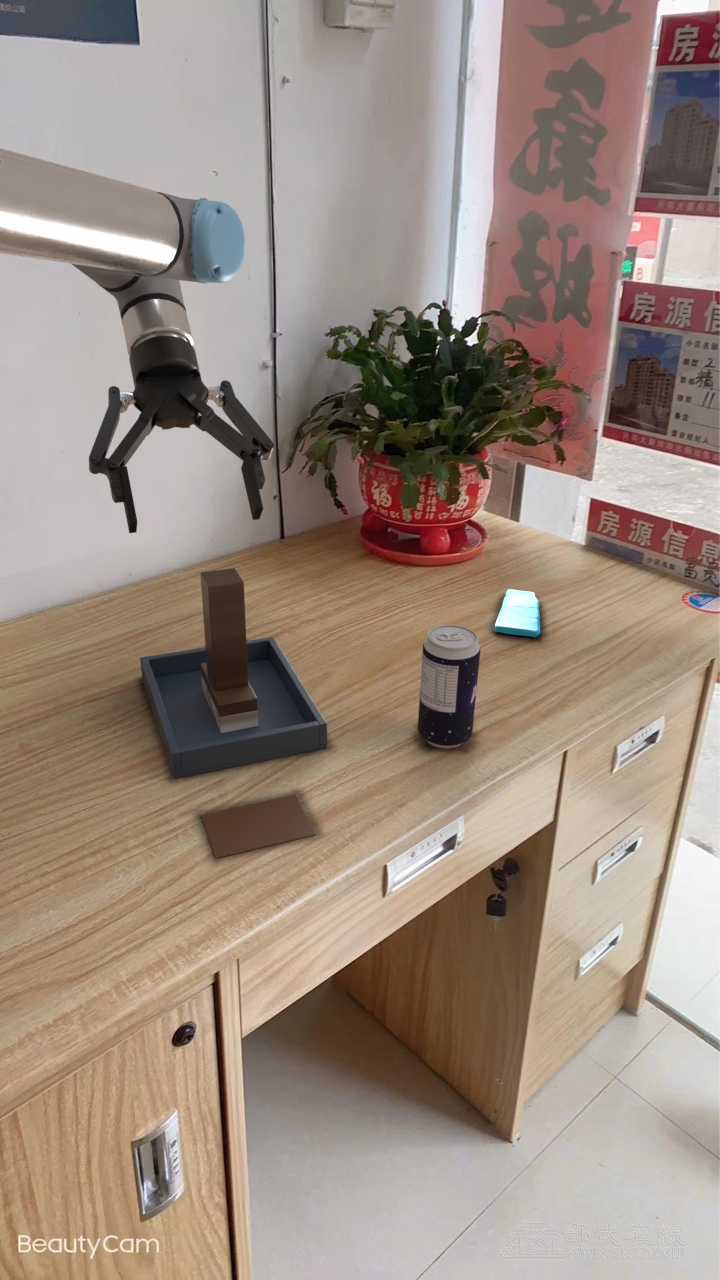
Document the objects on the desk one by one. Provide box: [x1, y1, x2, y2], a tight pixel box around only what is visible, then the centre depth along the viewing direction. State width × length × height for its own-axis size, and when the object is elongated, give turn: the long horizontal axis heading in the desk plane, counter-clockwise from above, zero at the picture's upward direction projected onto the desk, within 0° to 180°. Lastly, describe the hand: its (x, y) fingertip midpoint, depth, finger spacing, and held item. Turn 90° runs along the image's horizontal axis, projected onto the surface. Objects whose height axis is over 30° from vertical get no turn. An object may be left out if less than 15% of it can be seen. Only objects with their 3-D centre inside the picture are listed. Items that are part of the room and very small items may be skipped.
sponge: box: [494, 588, 541, 638], centre depth 117 cm, size 2×12×6 cm
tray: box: [139, 636, 328, 780], centre depth 95 cm, size 16×20×3 cm
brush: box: [199, 567, 258, 733], centre depth 92 cm, size 9×4×16 cm, turn 21°
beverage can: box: [417, 624, 481, 749], centre depth 89 cm, size 6×6×12 cm
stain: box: [200, 793, 317, 859], centre depth 79 cm, size 9×6×1 cm, turn 111°
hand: (197, 521), depth 95 cm, fingers open, 13 cm apart
